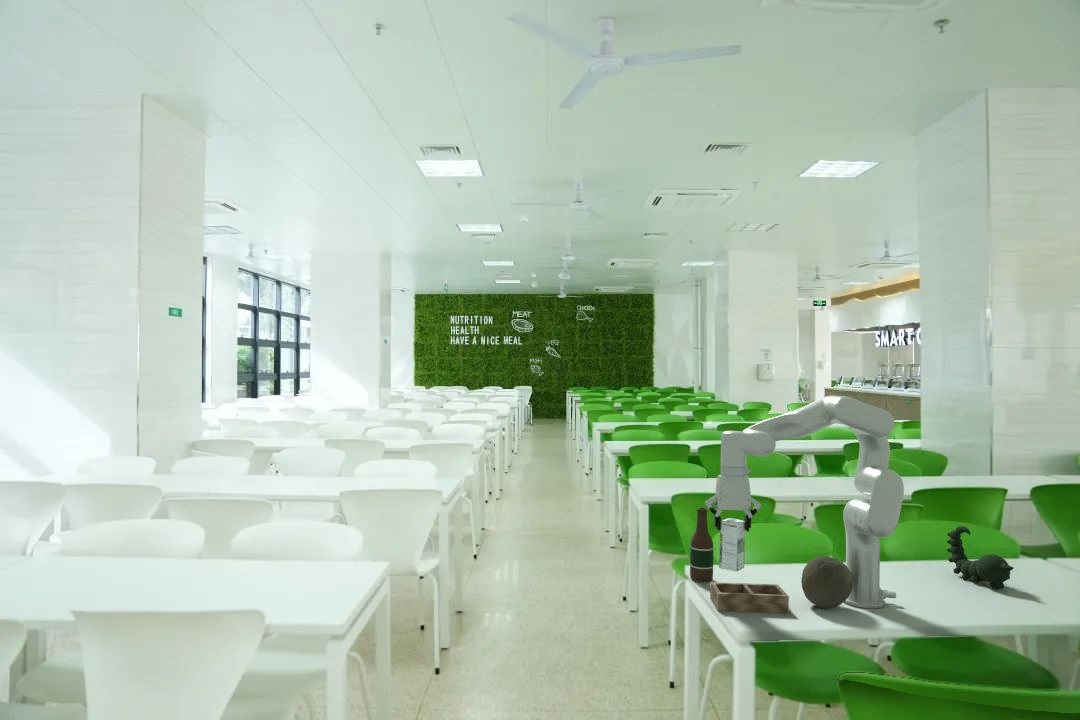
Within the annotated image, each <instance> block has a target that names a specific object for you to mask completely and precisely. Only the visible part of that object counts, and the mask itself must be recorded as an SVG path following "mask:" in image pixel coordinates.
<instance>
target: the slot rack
mask: <svg viewBox="0 0 1080 720" xmlns="http://www.w3.org/2000/svg"><path fill="white" fill-rule="evenodd" d="M709 583H710V587H709V588H710V589H709V599H710V601H711V602H712V604H713V606H714V607H715V610H716V611H717V612H741V613H765V614H766V613H768V614H772V613H773V614H789V607H790V606H789V603H790V599H789V598H790V597H789V594H787V593H786V592H785V590H784V589H782V587H781V586H780V585H779V584H778V583H777V584H775V583H774V584H773V583H772V584H770V583H741V582H717V581H715V582H713V581H710V582H709Z"/></svg>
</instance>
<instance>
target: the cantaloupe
mask: <svg viewBox="0 0 1080 720" xmlns="http://www.w3.org/2000/svg"><path fill="white" fill-rule="evenodd" d="M800 581H801V587H802V591H803V594H804V596H805V598H806V599H807V600H808V601H809V603H811V604H813V605H815V606H817V608H820V609H822V610H830V609H834V608H837V607H839V606H841V605H842V604H844V603H845V602H844V601H845V600H846V599H847V598H848V597H849V595H850V593H851V591H852V588H853V576H852V574H851V572H850V570H849V569H848V567H847V566H846V563H844V562H843V561H841V560H839V558H835V557H831V556H825V555H821V556H820V555H819V556H816V557H814V558H812V559H810V560H809V561H808V562H807V563H806V565H804V568H803V569H802V573H801V580H800Z"/></svg>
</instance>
